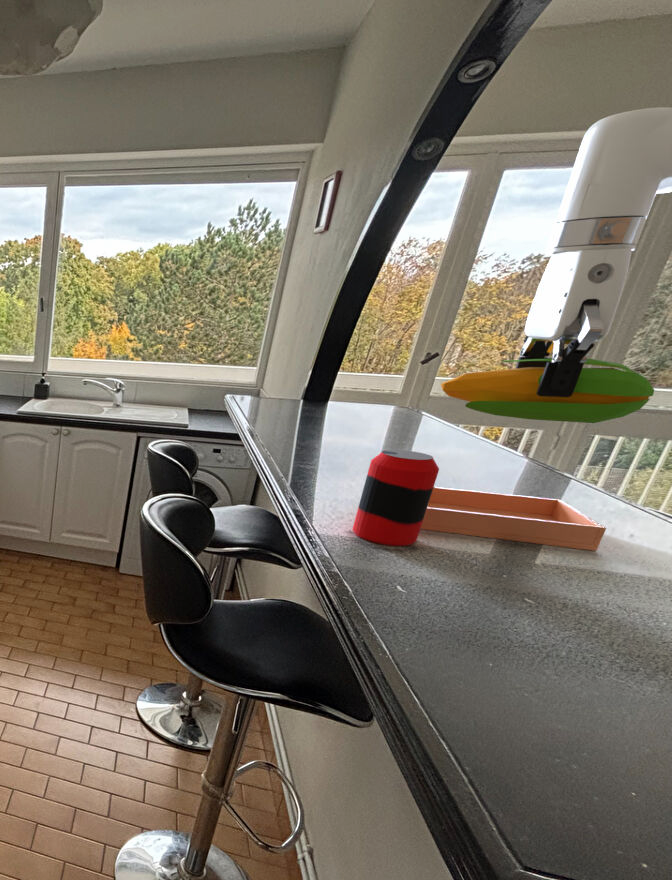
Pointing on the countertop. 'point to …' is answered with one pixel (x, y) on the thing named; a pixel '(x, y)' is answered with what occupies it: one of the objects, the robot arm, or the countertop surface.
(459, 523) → the pan
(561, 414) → the corn
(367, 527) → the soda can
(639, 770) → the countertop surface
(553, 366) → the robot arm
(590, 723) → the countertop surface
